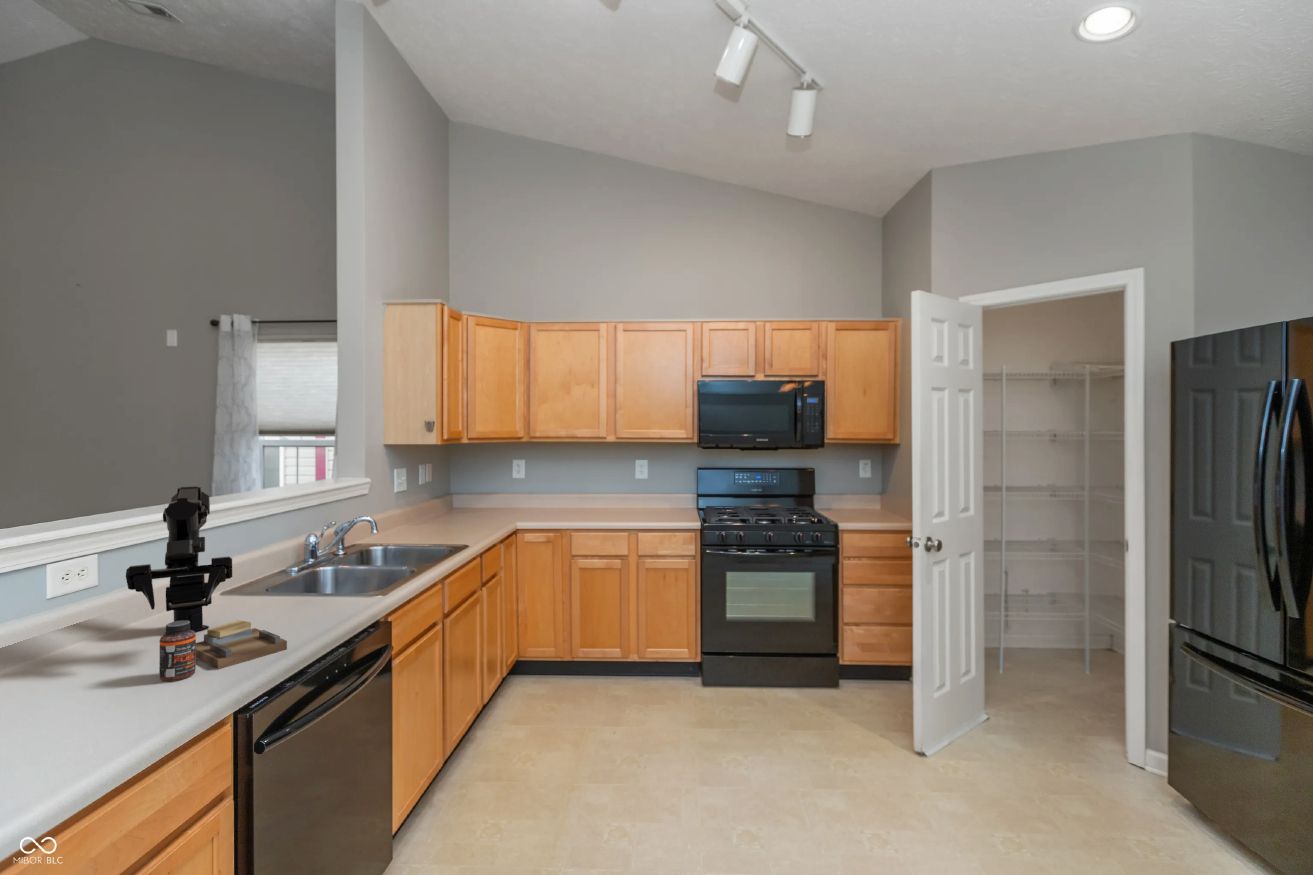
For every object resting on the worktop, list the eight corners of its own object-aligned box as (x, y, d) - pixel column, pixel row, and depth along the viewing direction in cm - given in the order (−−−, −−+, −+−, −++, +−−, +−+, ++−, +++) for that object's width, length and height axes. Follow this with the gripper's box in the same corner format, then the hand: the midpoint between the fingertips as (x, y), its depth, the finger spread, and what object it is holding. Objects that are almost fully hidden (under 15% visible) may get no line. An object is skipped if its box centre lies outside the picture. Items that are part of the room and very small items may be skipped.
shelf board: (187, 653, 137) (187, 632, 137) (254, 635, 149) (254, 616, 149) (218, 669, 128) (218, 646, 128) (286, 649, 140) (286, 628, 140)
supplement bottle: (175, 683, 121) (174, 628, 121) (151, 681, 122) (151, 626, 122) (203, 672, 127) (202, 619, 127) (180, 669, 128) (180, 617, 128)
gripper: (126, 529, 129) (118, 591, 120) (232, 522, 140) (232, 578, 131) (132, 559, 136) (125, 619, 127) (232, 549, 147) (232, 605, 138)
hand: (180, 604), depth 130 cm, fingers open, 9 cm apart
